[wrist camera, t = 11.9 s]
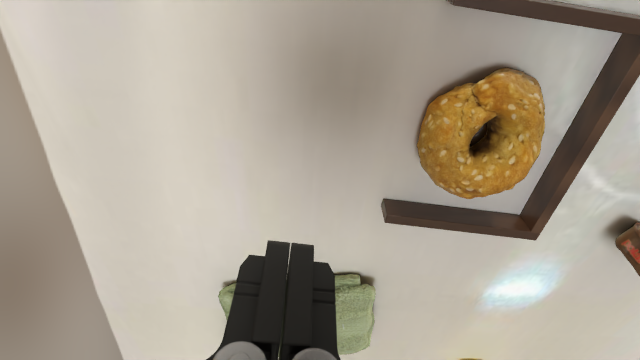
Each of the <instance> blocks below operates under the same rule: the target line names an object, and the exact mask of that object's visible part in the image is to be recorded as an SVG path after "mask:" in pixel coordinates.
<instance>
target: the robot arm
mask: <svg viewBox="0 0 640 360" xmlns="http://www.w3.org/2000/svg"><path fill="white" fill-rule="evenodd" d="M289 248H290V243H288V242H279V241H269V240H268V243H267V249H266V255H265V256H255V255H249V256H248V257H247V259H246V260H245V261H244V262H243V264H242V265H241V266H240V269H239V273H238V278H237V283H236V286H235V290H234V295H233V299H232V303H231V307H230V312H229V316H228V320H227V324H226V329H225V333H224V337H223V340H222V343H221V345H220V347H219V348H218V350H217V351H216V352H215V353H214V354H213V355H212V356H211V357H209V358H208V359H206V360H340V357H339V354H338V349H337V324H336V305H335V303H336V296H335V276H334V274H333V272H332V270H331V268H330V266H329V264H328V263H322V262H314V245H307V244H298V243H292V245H291V252H290V259H289ZM288 259H289V266H288ZM287 269H288V273H287ZM286 279H287V280H286ZM279 348H280V349H279ZM278 354H279V359H278Z"/></svg>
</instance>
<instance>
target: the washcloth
mask: <svg viewBox="0 0 640 360" xmlns="http://www.w3.org/2000/svg"><path fill="white" fill-rule="evenodd" d="M235 286H236V283H235V284H231V285H230V286H227V287H225V288H223V289H222V290H221V291H220V292H219V293H220V294H219V296H218V297H219V301H220V303H221V306H222V308H223V310H224V312H225V316H226V319H227V320H228V316H229V312H230V307H231V303H232V299H233V295H234V290H235ZM375 294H376V293H375V288H374V287H373V286H370V285H368V284H363V285H361V281H360V275H353V274H348V275H339V276H337V275H336V276H335V296H336V303H335V305H336V324H337V349H338V354H340V355H342V354H352V353H355V352H358V351H361V350H363V349H366V348H367V347H368V346H370V338H371V334H372V329H373V325H374V315H373V313H372V306H373V302H374V299H375ZM279 349H280V348H279ZM278 357H279V354H278Z"/></svg>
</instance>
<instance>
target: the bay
mask: <svg viewBox="0 0 640 360" xmlns="http://www.w3.org/2000/svg"><path fill="white" fill-rule="evenodd" d="M446 1H448V2H449V3H451V4H452V5H455V6H461V7H467V8H474V9H480V10H486V11H492V12H498V13H504V14H510V15H516V16H522V17H528V18H535V19H541V20H547V21H553V22H559V23H565V24H571V25H577V26H583V27H589V28H596V29H602V30H608V31H614V32H620V33H623V34H622V36H621V38H620V39H619V41H618V43H617V45H616V46H615V48H614V50H613V52H612V54H611V55H610V57H609V59H608V61H607V62H606V64H605V66H604V68H603V69H602V71H601V73H600V75H599V76H598V78H597V80H596V82H595V84H594V85H593V87H592V89H591V91H590V92H589V94H588V96H587V98H586V99H585V101H584V103H583V105H582V106H581V108H580V110H579V112H578V114H577V115H576V117H575V119H574V121H573V122H572V124H571V126H570V128H569V129H568V131H567V133H566V135H565V136H564V138H563V140H562V142H561V144H560V145H559V147H558V149H557V151H556V152H555V154H554V156H553V158H552V159H551V161H550V163H549V165H548V167H547V168H546V170H545V172H544V174H543V175H542V177H541V179H540V181H539V182H538V184H537V186H536V188H535V189H534V191H533V193H532V195H531V197H530V198H529V200H528V202H527V204H526V205H525V207H524V209H523V211H522V212H521V214H520V215H513V214H505V213H497V212H488V211H480V210H472V209H464V208H455V207H447V206H439V205H431V204H422V203H414V202H406V201H398V200H389V199H383V202H382V206H381V207H382V212H383V217H384V222H385V223H392V224H401V225H409V226H418V227H427V228H435V229H444V230H452V231H461V232H470V233H478V234H487V235H495V236H504V237H513V238H521V239H529V240H536V239H537V238H538V236H539V235H540V233H541V232H542V230H543V228H544V227H545V225H546V224H547V222H548V220H549V219H550V217H551V216H552V214H553V212H554V211H555V209H556V208H557V206H558V204H559V203H560V201H561V200H562V198H563V196H564V195H565V193H566V192H567V190H568V188H569V187H570V185H571V184H572V182H573V180H574V179H575V177H576V176H577V174H578V172H579V171H580V169H581V168H582V166H583V164H584V163H585V161H586V160H587V158H588V156H589V155H590V153H591V152H592V150H593V149H594V147H595V145H596V144H597V142H598V141H599V139H600V137H601V136H602V134H603V133H604V131H605V129H606V128H607V126H608V125H609V123H610V121H611V120H612V118H613V117H614V115H615V113H616V112H617V110H618V109H619V107H620V105H621V104H622V102H623V101H624V99H625V97H626V96H627V94H628V93H629V91H630V89H631V88H632V86H633V85H634V83H635V81H636V80H637V78H638V77H639V75H640V16H639V15H633V14H627V13H621V12H615V11H609V10H603V9H597V8H591V7H585V6H579V5H574V4H568V3H562V2H556V1H550V0H446Z"/></svg>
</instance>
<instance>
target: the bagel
mask: <svg viewBox="0 0 640 360" xmlns="http://www.w3.org/2000/svg"><path fill="white" fill-rule="evenodd" d="M544 109H545V106H544V103H543V96H542V93H541V87H540V85H539V83H538V81H537V80H536V79H535V78H534V77H531V76H529V75H526V74H525V73H524V72H523V71H518V70H513V69H510V68H502V69H498V70H496V71H494V72H493V73H491V74H490V75H489V76H486V77H485V78H484V80H481V81H479V82H478V83H475V84H474V83H466V84H463V85H462V86H456V87H455V88H454V89H453V90H451V91H449V92H447V93H445V94H443V95H440V96H438V97H437V98H436V99H435V100H434V101H433V102H431V103H430V104H429V106H428V108H427V111H426V115H425V117H424V120H423V122H422V125H421V130H420V135H419V141H418V143H417V148H418V154H419V157H420V163H421V166H422V167H423V169H424V170H425V171H426V172H427V173H428V175H429V176H430V178H431V179H432V180H433V182H434V183H435V184H436V185H437V186H439V187H441V188H443V189H444V190H446V191H448V192H449V193H451V194H454V195H457V196H459V197H463V198H466V199H472V198H475V197H486V196H488V195H492V194H496V193H500V192H502V191H504V190H510V189H512V188H513V187H514V186H515V184H517V183H518V182H520V181H521V180H523V179H524V178H525V177H526V176H527V174H528V172H529V170H530V169H531V167H532V165H533V164H534V162H535V160H536V159H537V158H538V156H539V153H540V150H541V141H542V136H543V134H544V128H545V121H544V115H545V112H544ZM486 122H487V134H486V135H485V136H484V137H483V138H482V139H481V140H480V141H479V142H478V143H476V144H474V145H473V146H472V147H471V148H470V146H469V144H470V142H471V140H472V138H473V136H474V135H475V134H476V133H477V132H478V131H479V129H480V128H481V127H482V126H483V125H484V124H485V123H486Z"/></svg>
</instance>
